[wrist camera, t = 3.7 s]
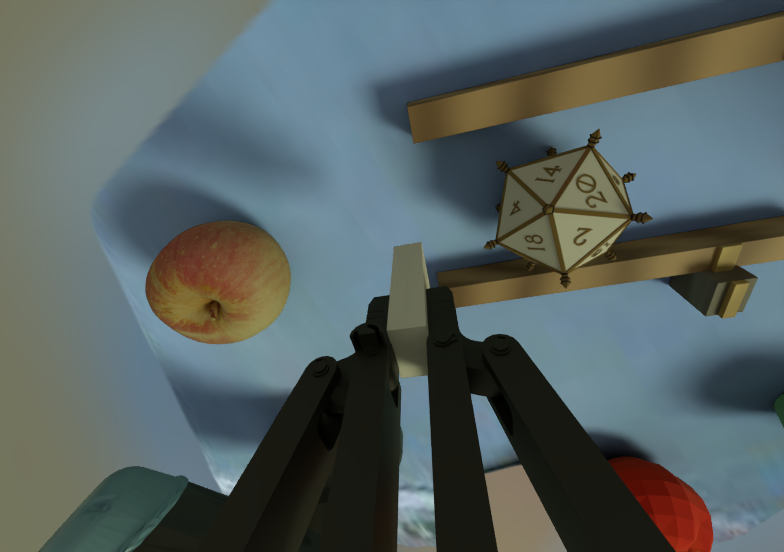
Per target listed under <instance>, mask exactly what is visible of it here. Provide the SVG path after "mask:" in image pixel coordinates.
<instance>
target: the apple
mask: <svg viewBox="0 0 784 552" xmlns="http://www.w3.org/2000/svg"><path fill="white" fill-rule="evenodd" d="M290 283H291V273H290V267H289V263H288V260H287V258H286V255H285V253H284V251H283V250H282V248H281V247H280V246H279V244H278V243H277V242H276V240H275V239H274V238H273V237H272V236H271V235H269V234H268V233H267V232H266V231H264V230H262V229H261V228H259V227H257V226H254V225H252V224H248V223H244V222H239V221H216V222H210V223H205V224H201V225H198V226H195V227H192V228H190V229H188V230H186V231H184V232H182V233H181V234H179V235H178V236H177V237H175V238H174V239H173V240H172V241H171V242H170V243H169V244H168V245H166V246H165V247H164V248H163V249H162V251H161V252H160V253H159V254H158V256H157V257H156V259H155V260H154V262H153V263H152V265H151V267H150V269H149V272H148V274H147V278H146V297H147V300H148V302H149V305H150V307H151V309H152V311H153V312H154V314H155V315H156V316H157V317H158V318H159V319H160V320H161V321H162V322H164V323H165V324H166V325H167V326H169V327H170V328H171V329H173V330H174V331H176V332H178V333H179V334H181V335H183V336H185V337H187V338H190V339H192V340H195V341H198V342H202V343H208V344H228V343H234V342H239V341H243V340H246V339H248V338H250V337H252V336H254V335H256V334H258V333H259V332H261V331H262V330H264V329H265V328H267V327H268V326H269V325H271V324H272V323H273V322H274V321H275V320H276V318H277V317H278V316H279V314H280V313H281V311H282V310H283V308H284V306H285V304H286V301H287V298H288V295H289V291H290Z"/></svg>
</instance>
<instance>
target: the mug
mask: <svg viewBox="0 0 784 552" xmlns="http://www.w3.org/2000/svg"><path fill="white" fill-rule="evenodd" d="M774 408H775V410H776V413H777V415H778V417H779V419H780V421H781V423H782V425H783V427H784V393H783V394H782V395H780V396H779V397H778V398H777V399H776V401H775V403H774Z"/></svg>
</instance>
